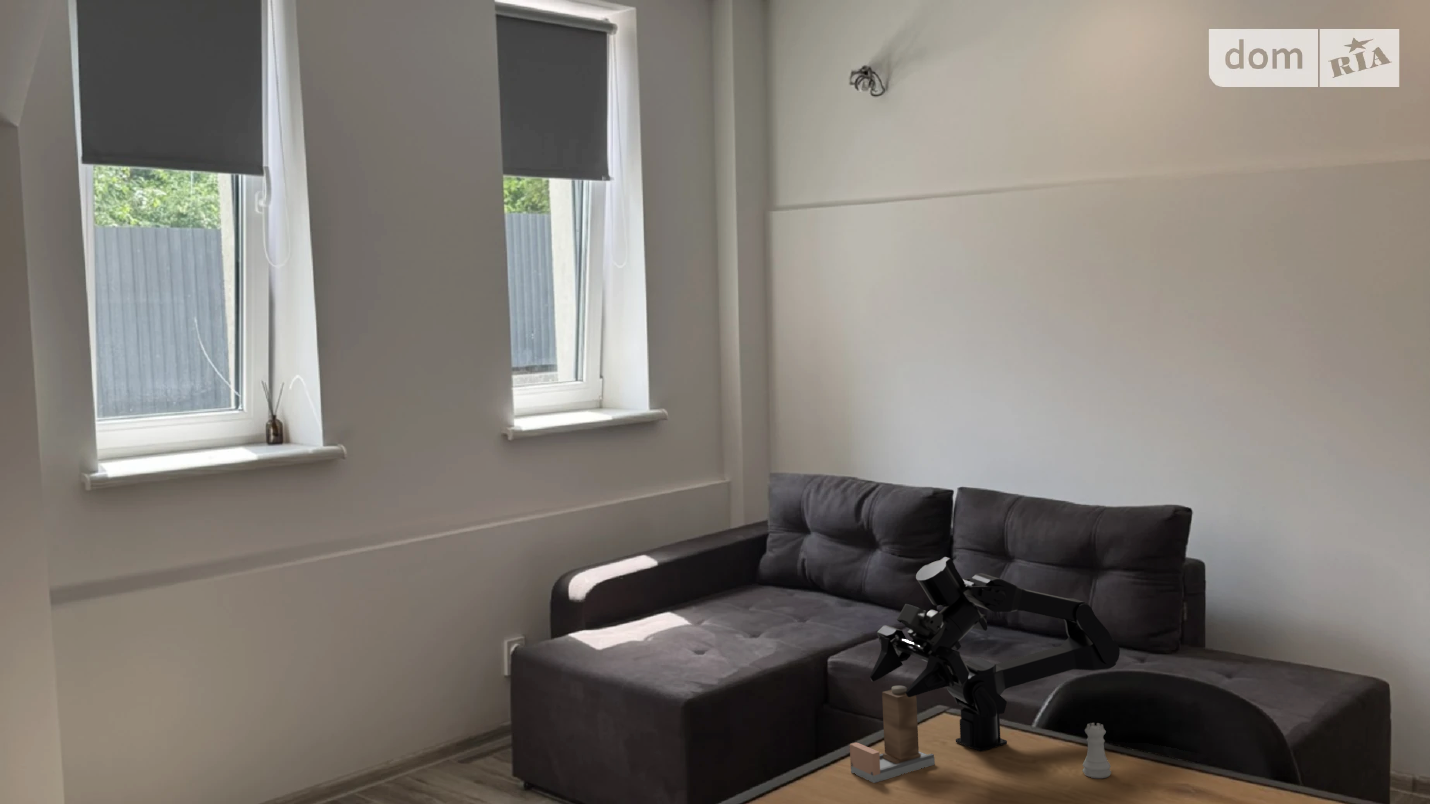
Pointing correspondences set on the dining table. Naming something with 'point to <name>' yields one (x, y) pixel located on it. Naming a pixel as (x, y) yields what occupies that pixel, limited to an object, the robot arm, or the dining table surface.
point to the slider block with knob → (900, 725)
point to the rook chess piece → (1096, 753)
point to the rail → (882, 764)
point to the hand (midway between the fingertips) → (888, 687)
